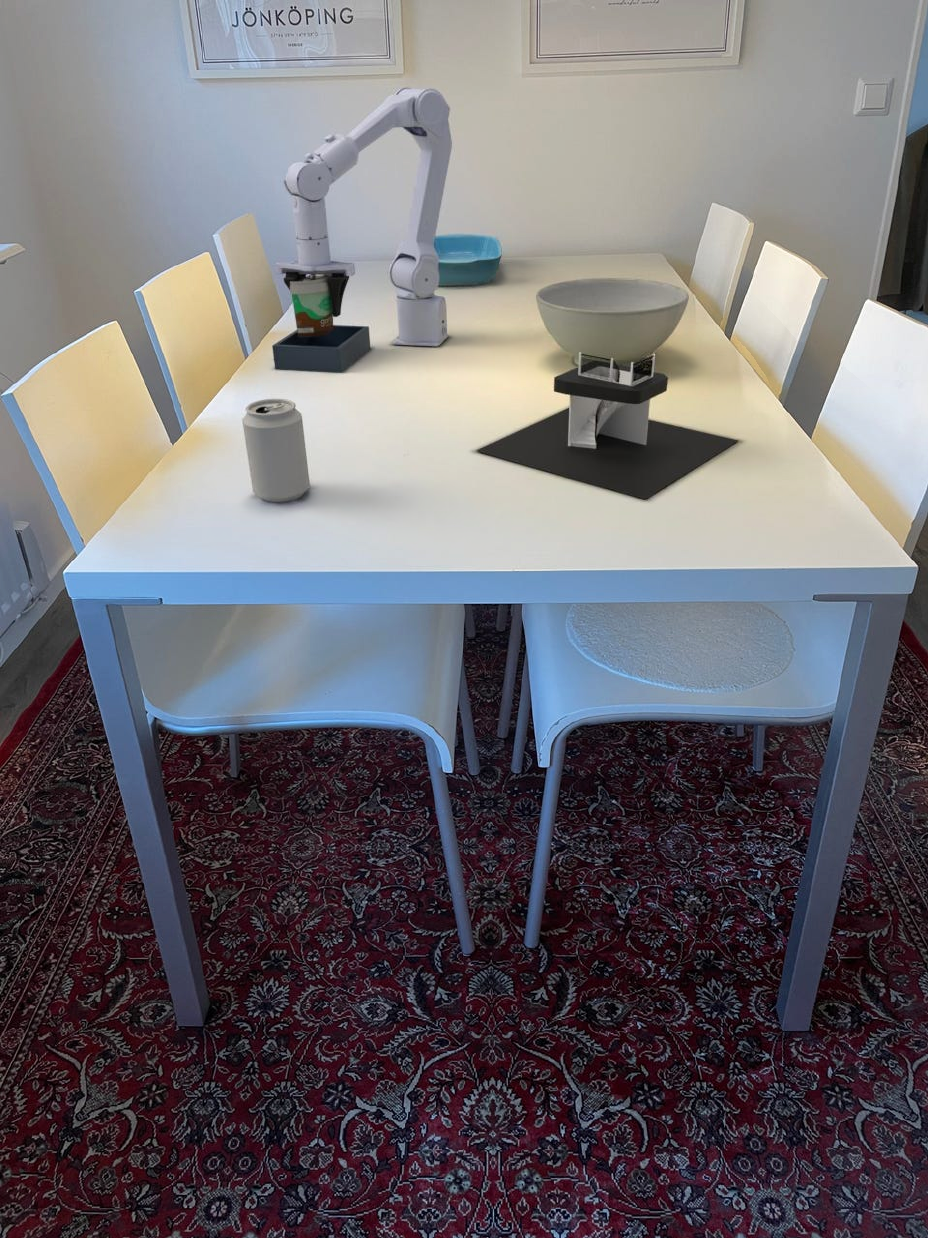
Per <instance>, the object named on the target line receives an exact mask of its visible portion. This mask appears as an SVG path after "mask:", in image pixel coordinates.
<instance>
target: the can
mask: <svg viewBox="0 0 928 1238" xmlns="http://www.w3.org/2000/svg"><path fill="white" fill-rule="evenodd" d="M296 407H297V405H296V402H295V401H293V400H291V399H286V398H266V399H261V400H256V401H252V402H251V403H249V404H247V406H246V407H245V412H246V413H245V415H244V416H243V418H242V419H241V421H242V427H243V435H244V440H245V446H246V447H245V448H246V454H247V460H248V461H247V462H248V468H249V474H250V480H251V489H252V493H253V494H255V496H257V497H259V498H260V499H261V500H264V501H266V502H270V503H285V502H290V501H294V500H297V499H299V498H301V497H302V496H303V495H304V494H305V492H306V491H308V490H309V488H310V486H311V483H310V475H309V466H308V465H309V464H308V456H307V448H306V440H305V439H306V438H305V431H304V422H303V415H302V413H301V412H300V411H299V410H297V408H296Z"/></svg>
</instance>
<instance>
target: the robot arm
mask: <svg viewBox="0 0 928 1238" xmlns="http://www.w3.org/2000/svg"><path fill="white" fill-rule="evenodd" d="M450 113H451V107H450V106H449V104H448V102H447V101H446V99H445V97H444V96H443V94H442V93H441V92H440V91H439V90H438V89H436V88H433V87H428V88H412V87H401V88H400V89H398V90H397V91H396V92H395V93H394V94H392V95H389V96H387V97H386V98H385V100H384V101H383V102H382V103H381V104H380V105H379V106H377V108H375V109H374V111H372V112H371V113H370V114H369V115H367V117H365V118H364V119H363V120H362V121H361V122H360V123H359V124H358V125H356V127H354V128H353V129H352V130H350V132H349V133H348V134H347V135H345V134H340V133H336V134H328V135H327V136H325V138H324V141H325V142H324V143H323V144H322V145H320V146H319V147H317V149H315V151H313V152H307V153H306V154H305V155H304V162H302V161H297V162H295V163H293V164H291V165H290V166H289V167H288V169H287V172H286V173H285V179H284V180H283V185H284V188H285V190H286V192H287V193H288V194H289V195H290V197H291V205H292V215H293V221H294V222H293V223H294V233H295V240H296V249H297V250H296V251H297V259H298V260H280V261H277V262H275V268H276V269H275V270H276V274H277V275H284V274H285V277H283V282H284V284H285V286H286V287H287V289H288V290H289V291H290V282H298V281H300V279H301V278H303V277H307V275H311V274H321V275H332V277H329V278H328V279H327V282H328V285H329V289H330V294H331V300H332V312H333V318H338V317H339V316H340V315H341V313H342V304H343V298H344V294H345V291H346V287H347V285H348V282H349V280H350V277H352V276H354V275H356V265H355V264H356V263H355V262H345V261H336V260H331V251H330V239H329V231H328V229H329V228H328V221H327V220H328V219H327V210H326V209H327V208H326V201H325V200H326V199H325V198H326V196H327V195H328V193H329V191H330V186H331V185H332V184H334V183H335V182H336V181H338V180H339V179H340V178H341V177H342V176H343V175H345V174H346V173H347V172H349V171H350V170H351V169H352V168H354V166H356V165H358V162H359V161H358V160H359V153H361V152H362V151H363V150H365V149H366V148H367V147H369V146H371V144H373V143H374V142H376V141H377V140H378V139H380V138H381V137H383V136H384V135H385V134H387V133H388V132H390V131H391V130H392V129H395V128H402V129H404V130H405V131H406V132H407V133H408V134H409V135H411V136H412V138H413V139H414V141H415V142H416V144H417V146H418V148H419V149H420V154H419V160H418V165H417V171H416V177H415V183H414V188H413V193H412V200H411V205H410V211H409V215H408V216H409V217H408V222H407V227H406V234H405V238H404V240H403V241H402V242H401V244H400V245H399V246H398V247H397V249H396V253H395V257H394V259H393V260H392V262H391V263H390V266H389V269H388V277H389V280H390V283H391V284H392V285H393V286H394V288H395V293H396V294H395V295H396V309H397V310H396V311H397V326H398V327H397V328H398V329H397V330H398V336H397V337H396V338H395V339H394V340H393V341H392V345H395V346H396V345H397V346H398V345H399V346H415V347H416V346H418V347H439V346H440V345H441V344H442V343H443V342H444V341H446V339H448V337H449V333H448V317H447V316H448V314H447V301H446V298H445V297H444V296H442V295H436V294H435V292H436V290H437V289H438V287H439V286H438V284H439V271H438V262H439V257H438V255H437V252H436V250H435V248H434V239H435V236H436V233H437V229H438V223H439V218H440V212H441V207H442V202H443V196H444V191H445V185H446V180H447V175H448V170H449V165H450V164H449V163H450V160H451V152H452V148H453V140H452V135H451V129H450V123H449V117H450Z"/></svg>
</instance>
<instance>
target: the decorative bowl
mask: <svg viewBox="0 0 928 1238" xmlns="http://www.w3.org/2000/svg"><path fill="white" fill-rule="evenodd" d="M689 299H690V297H689V293H688V292H687V291H686V289H683V288H681V287H679V286H676V285H674V284H671V283H668V282H667V283H666V282H661V281H655V280H649V279H641V278H627V277H626V278H625V277H599V278H598V277H595V278H593V277H592V278H582V279H581V278H580V279H572V280H565V281H560V282H556V283H552V284H549V285H547V286H546V285H545V286H543V287H542V288H540V289H539V290H537V292H536V294H535V300H536V306H537V309H538V312H539V315H540V318H541V320H542V323H543V325H544V327H545V329H546V330H547V332H548V334H549V335H550V337H551V338H552V340H553V341H554V342H555V343H556V344H557V346H558V347H560V348H561V350H563V351H565V352H566V353H567V354H568V355H570V356H572V357H573V362H574V363H575V365H577V366H579V352H582V354H586V355H591V356H596V357H601V358H606V359H611V358H613V360H614V361H615V363H616V364H617V365H622V366H627V367H631V362H634V363H637V362H639V361H641V360H644V359H645V358H647V356H649V355H651V354H653V353H654V352H655V351H657V350H658V349H660V348H661V347H662V345H663V344H664V343H666V341H667V340H668V339H669V338H670V337H671V335H672V334H673V332H675V330H676V328H677V327H678V325H679V324H680V321H681V320H682V317H683V316H684V314H685V310H686V308H687V306H688V303H689ZM581 358H582V360H583V358H584V356H583V355H582V357H581ZM586 359H588V361H589V359H590V357H589V356H586ZM586 359H585V363H586V364H587V360H586ZM592 360H596V359H595V357H592ZM592 360H591V362H592ZM597 360H598V361H601V359H600V358H598V359H597ZM603 362H607V361H606V360H605V359H603ZM608 363H611V361H610V360H608ZM615 363H614V362H613V364H615ZM583 364H584V363H583ZM639 364H640V363H639ZM639 364H638V366H639ZM581 366H582V364H581ZM635 367H636V364H635V366H634V368H635ZM639 367H640V366H639Z"/></svg>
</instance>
